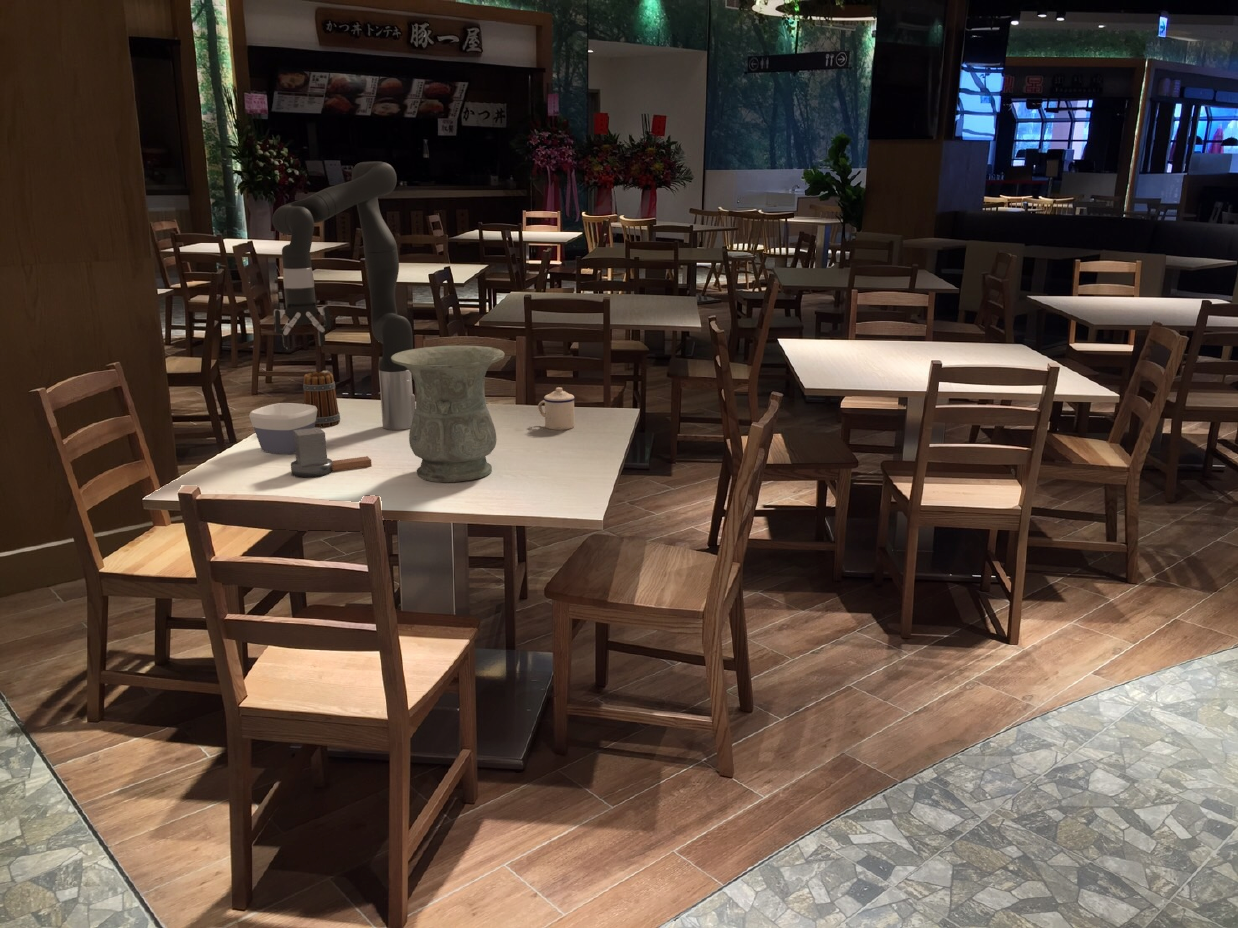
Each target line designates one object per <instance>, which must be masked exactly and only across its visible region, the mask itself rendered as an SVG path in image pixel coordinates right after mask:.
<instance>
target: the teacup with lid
mask: <svg viewBox="0 0 1238 928" xmlns="http://www.w3.org/2000/svg"><path fill="white" fill-rule="evenodd" d="M575 398H576V397H575V396H574V395H573V394H571V393H568V392H567V391H565V390H563V387H556V388H555V390H554V391H552V392H550V393H549V394H546V395H545V396H544V397H543V400H541V401H539V403H538V404H537V410H538V412H539V414H540V416H542V417H544V424H545V425H544V426H545V428H547V429H548V430H553V431H564V430H565V431H566V430H570V429H572V428H574V427H575ZM543 404H544V411H543V407H542V406H543Z"/></svg>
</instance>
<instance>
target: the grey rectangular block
mask: <svg viewBox="0 0 1238 928" xmlns="http://www.w3.org/2000/svg"><path fill="white" fill-rule="evenodd" d="M293 432H294V443H295V453H294V454H295V461H296V462H297V463H298V464H299V465H300V466H301V467H308V466H316V465H324V464H328V461H327V458H328V452H327V451H328V450H327V440H326V432H325V431H324V430H323V429H322V428H310V429H301V430H293Z"/></svg>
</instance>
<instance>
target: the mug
mask: <svg viewBox="0 0 1238 928" xmlns="http://www.w3.org/2000/svg"><path fill="white" fill-rule="evenodd" d="M335 383H336V382H335V381H334V375H333V373H332V372H330V371H329V370H322V371H320V372H319V373H318V372H316V371H315V372H312V373H311V372H310V373H306V374H304V376H303V383H302V386H303V387H302V388H303V389H302V390H303V401H304V402H303V404H307V405H313V406H316V408H317V409H318V410H317V416H316V421H315V428H321V429H322V428H329V427H334V426H336V425H339V423H340V422H341V415H340V414H341V413H340V411H339V406H338V398H337V394H336V392H337V391H336V384H335Z"/></svg>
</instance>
